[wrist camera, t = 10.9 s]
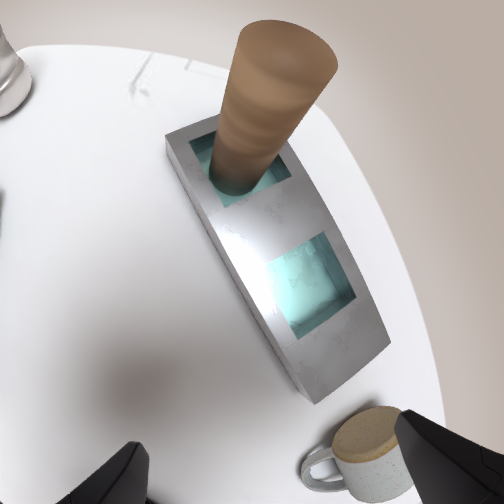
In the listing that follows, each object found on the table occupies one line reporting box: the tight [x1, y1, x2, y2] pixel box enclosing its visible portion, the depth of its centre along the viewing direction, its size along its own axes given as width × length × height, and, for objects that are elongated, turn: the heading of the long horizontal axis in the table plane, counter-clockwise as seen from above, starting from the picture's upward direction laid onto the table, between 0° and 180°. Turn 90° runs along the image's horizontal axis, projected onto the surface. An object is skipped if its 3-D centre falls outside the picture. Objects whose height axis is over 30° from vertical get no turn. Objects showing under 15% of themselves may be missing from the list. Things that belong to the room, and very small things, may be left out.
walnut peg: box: [209, 20, 338, 196], centre depth 14 cm, size 4×4×13 cm
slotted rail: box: [165, 114, 391, 405], centre depth 20 cm, size 8×22×3 cm, turn 30°
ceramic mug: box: [301, 406, 414, 503], centre depth 17 cm, size 11×8×8 cm
